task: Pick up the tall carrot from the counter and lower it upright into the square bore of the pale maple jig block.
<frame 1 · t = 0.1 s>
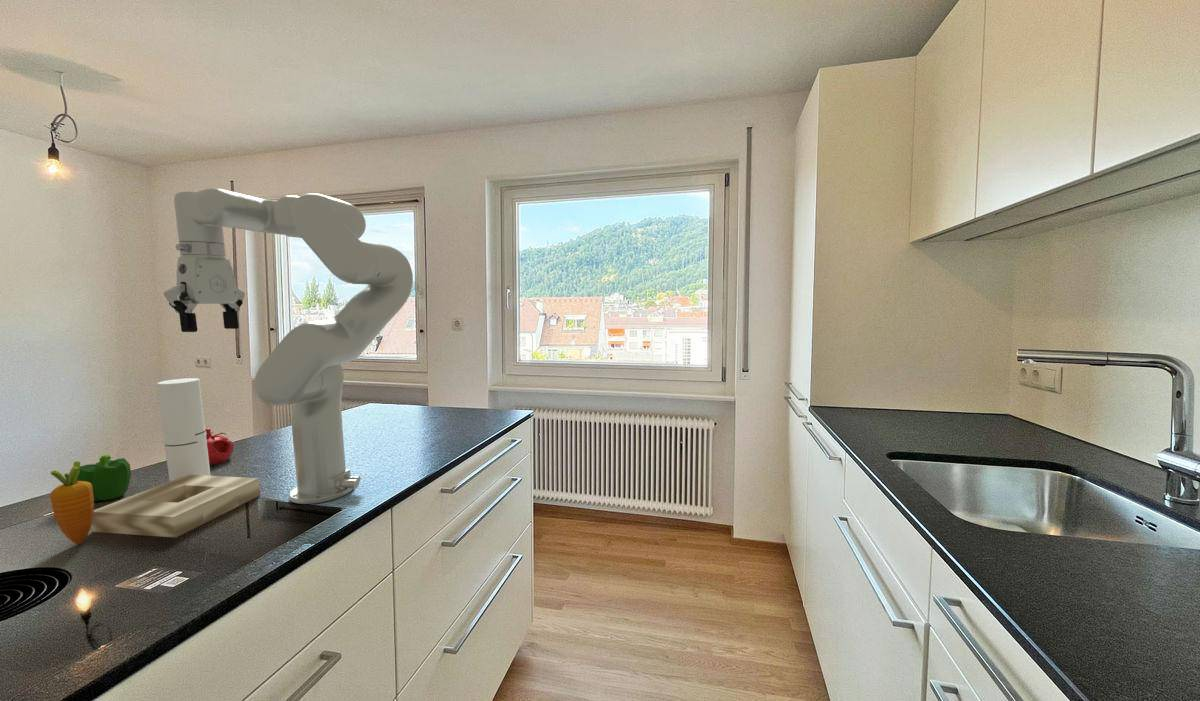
hand: (211, 330, 101), 37 cm above the countertop, tool pointing down, fingers open, 9 cm apart
bell pepper: (107, 498, 101), on the countertop
cylindrical container: (191, 486, 107), on the countertop
maple jig block: (183, 512, 94), on the countertop
pomegranate: (211, 463, 122), on the countertop
carrot: (80, 545, 82), on the countertop
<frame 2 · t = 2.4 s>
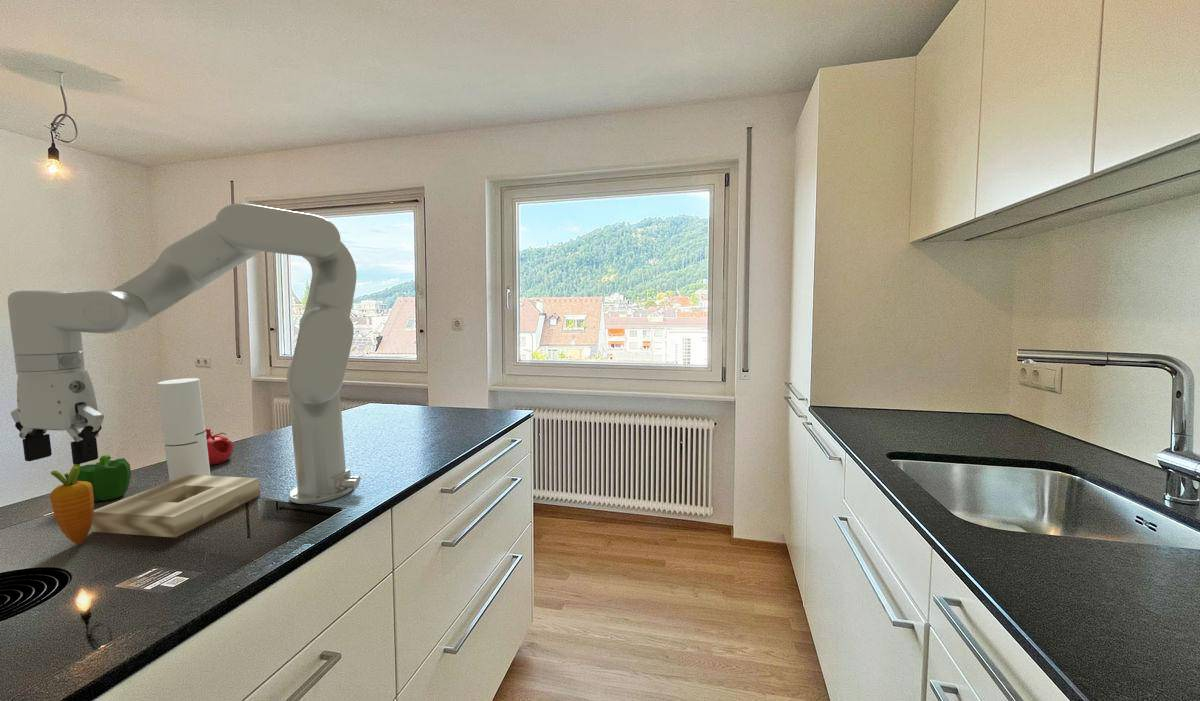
hand: (62, 460, 80), 16 cm above the countertop, tool pointing down, fingers open, 9 cm apart
nothing on the countertop moved.
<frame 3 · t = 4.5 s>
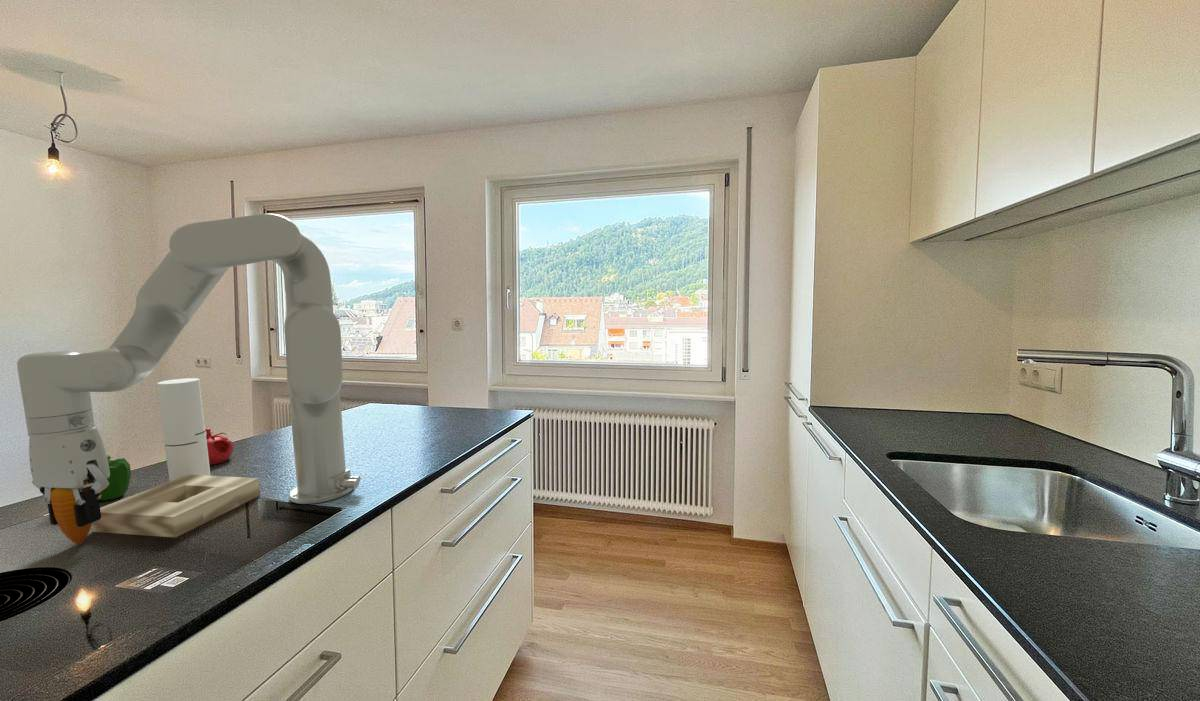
hand: (76, 521, 81), 4 cm above the countertop, tool pointing down, fingers closed on carrot, 4 cm apart
carrot: (80, 545, 82), on the countertop, touching gripper
everything else where it was.
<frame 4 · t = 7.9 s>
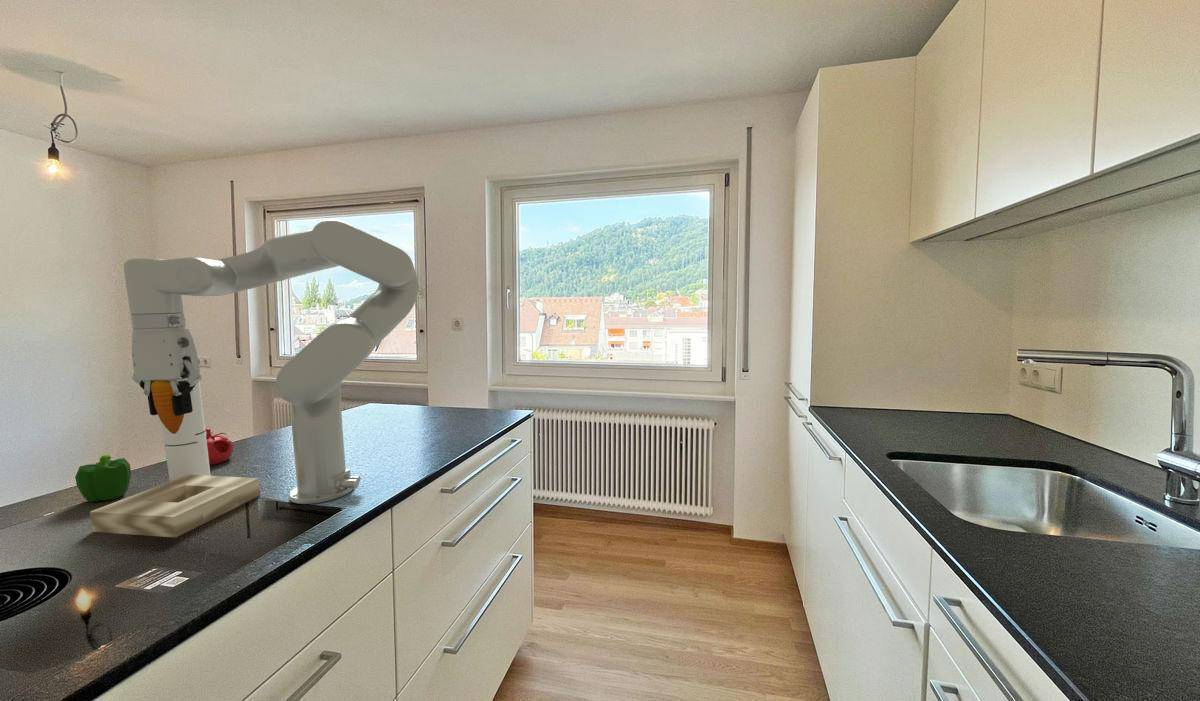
hand: (171, 412, 91), 21 cm above the countertop, tool pointing down, fingers closed on carrot, 4 cm apart
carrot: (174, 434, 92), point 16 cm above the countertop, touching gripper
everything else where it was.
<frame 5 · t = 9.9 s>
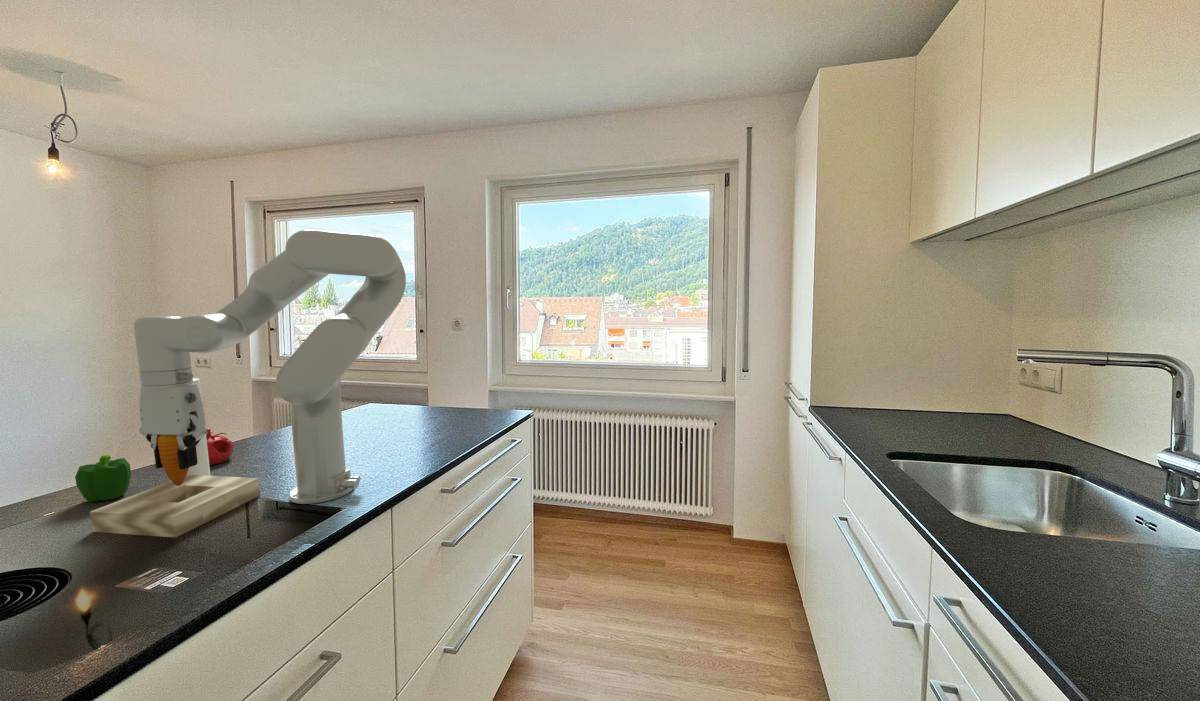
hand: (177, 465, 93), 10 cm above the countertop, tool pointing down, fingers closed on carrot, 4 cm apart
carrot: (179, 486, 93), point 5 cm above the countertop, touching gripper
everything else where it was.
when the fingers open (6 cm above the countertop, at t = 11.3 s): carrot drops 1 cm, on the countertop.
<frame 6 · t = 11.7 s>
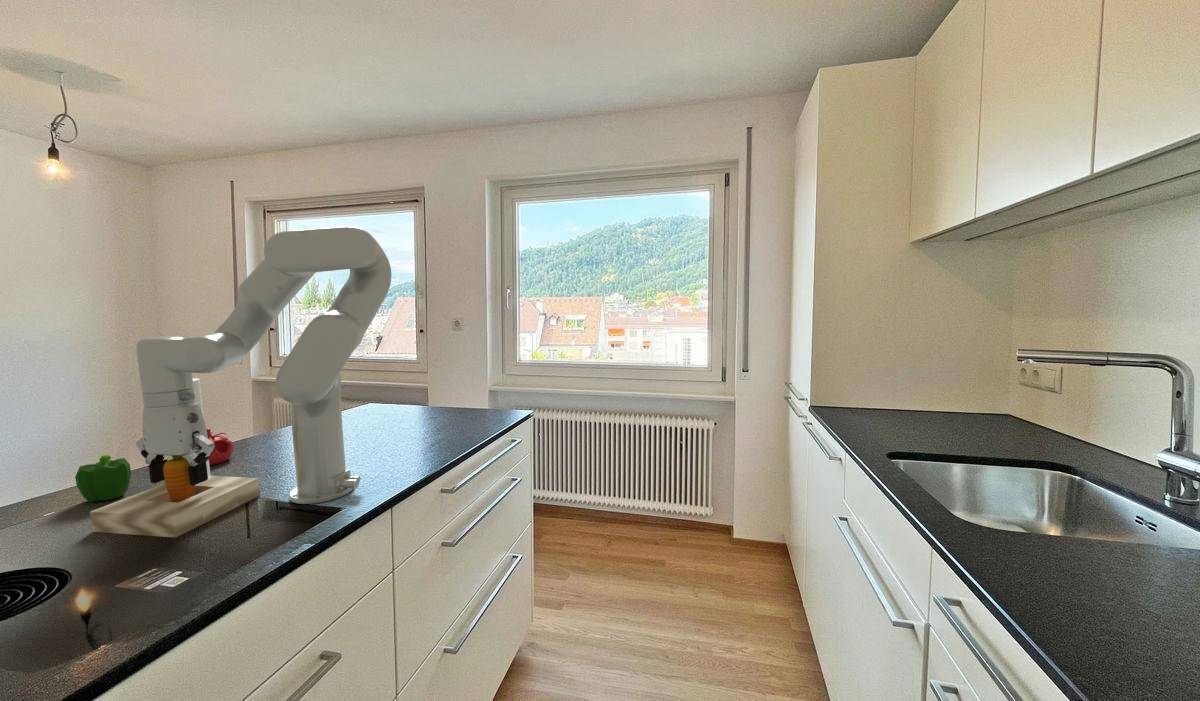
hand: (179, 481, 93), 7 cm above the countertop, tool pointing down, fingers open, 8 cm apart
carrot: (184, 513, 94), on the countertop
everything else where it was.
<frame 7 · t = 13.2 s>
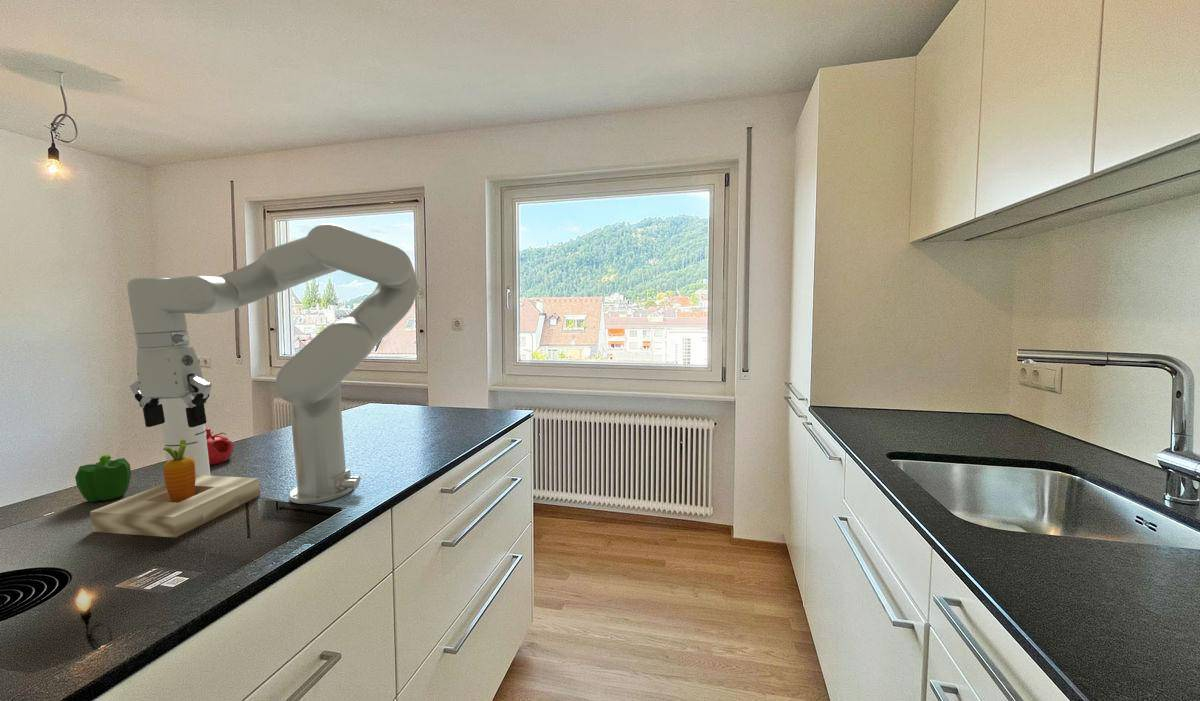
hand: (176, 425, 92), 18 cm above the countertop, tool pointing down, fingers open, 9 cm apart
nothing on the countertop moved.
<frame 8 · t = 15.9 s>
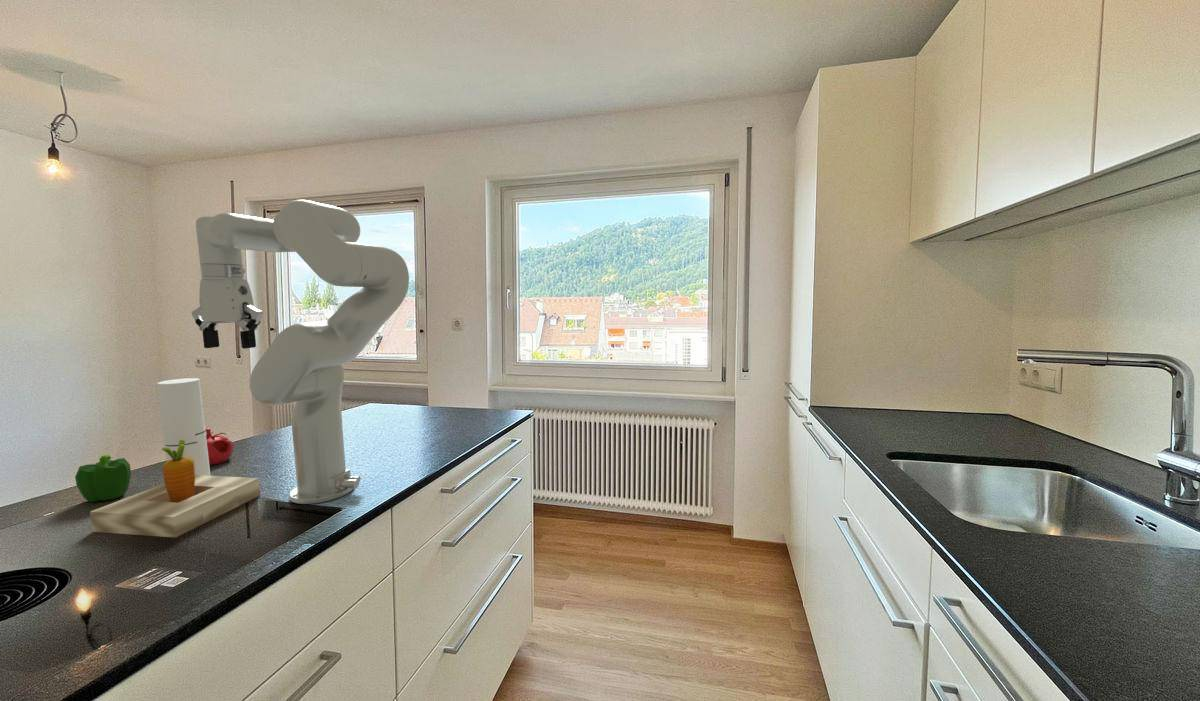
hand: (230, 347, 106), 32 cm above the countertop, tool pointing down, fingers open, 9 cm apart
nothing on the countertop moved.
at the end: carrot 0.2 cm off-centre on the maple jig block, point 0.0 cm above the maple jig block's base; carrot tilted 1°; the gripper is holding nothing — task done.
